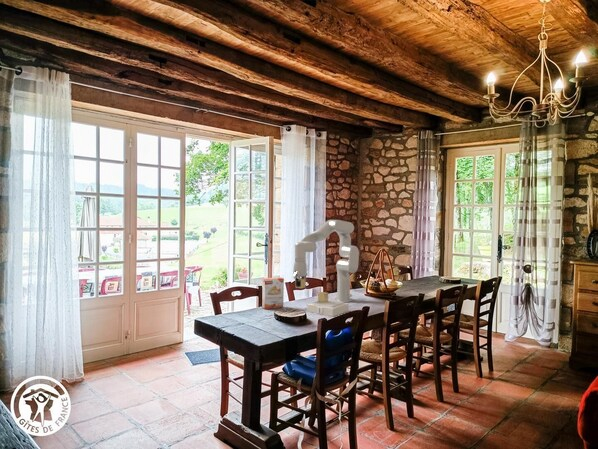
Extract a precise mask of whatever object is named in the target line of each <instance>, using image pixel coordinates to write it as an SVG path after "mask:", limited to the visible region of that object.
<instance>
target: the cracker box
mask: <svg viewBox="0 0 598 449" xmlns="http://www.w3.org/2000/svg"><path fill="white" fill-rule="evenodd" d="M284 281H285V278H284V277H280V276H279V277H263V278H262V297H261V298H262V302H261V304H262V306H261V308H263V310H271V309H272V310H273V309H281V308H280V307H283V308H284V295H285V294H284V293H285V292H284V290H285V288H284V285H285V282H284Z"/></svg>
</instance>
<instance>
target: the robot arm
mask: <svg viewBox="0 0 598 449" xmlns="http://www.w3.org/2000/svg"><path fill="white" fill-rule="evenodd" d="M354 230H355V226H354V224H353V223H352V222H349V221H345V220H340V219H328V220H326V221H325V222H324V224H322V225H321V226H319V228H318V229H317V230H315V231H313V232H312V233H310V234H307V235H306V236H304V237H303V238H302V239H301V240H300V241H298V242H295V243H294V263H293V269H292V270H293V274H292V275H293V278H294V281H296V282H295V288H296V287H300V278H304V279H307V276H308V273H307V271H308V269H307V262H306V261H307V260H306V259H307V253H314V252H315V251H316V250H317V248H318V247H317V244H316V242H317V243H319V242H321V241H324V240H325V239H327V238H328V237H329V236H330V235H331V234H332V233H333V232H336V233H337V235H338V237H339V250H338V251H339V252H338V254H339V256H340V257H342V259H338V260H337V261H336V264H335V268H336V272H337V274H336V275H337V281H336V282H337V284H336V285H337V290H336V293H337V295H336V298H335V300H334V301H340V302H345V303H350V302H352V301H353V299H352V298H351V297H353V295H352V294H351V275H350V274H355V273H356V272H357V271H358V268H359V260H360V259H359V258H360V257H359V256H360V250H359V249H358V247H357V246H356V245H352V238H351V234H352V233H353V232H354ZM345 258H346V259H345ZM347 258H348V259H347Z"/></svg>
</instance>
